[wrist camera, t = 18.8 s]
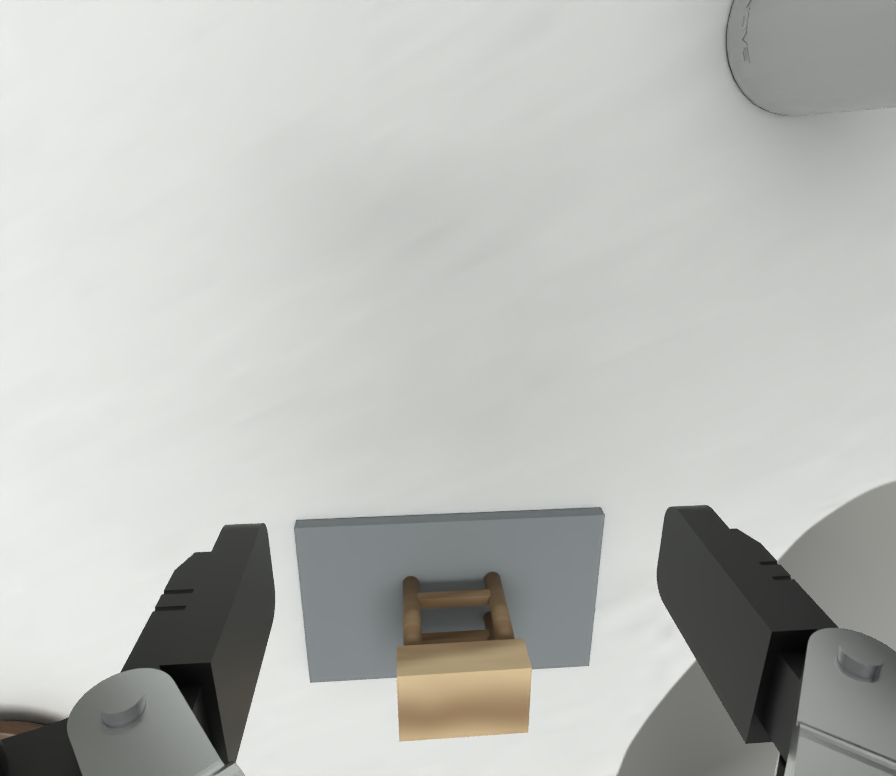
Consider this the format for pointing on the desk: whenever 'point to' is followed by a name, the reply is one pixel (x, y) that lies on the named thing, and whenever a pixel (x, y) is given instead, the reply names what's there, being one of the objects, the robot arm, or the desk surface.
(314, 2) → the desk surface
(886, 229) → the desk surface
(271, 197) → the desk surface
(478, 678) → the oak stool
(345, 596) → the grey mat
